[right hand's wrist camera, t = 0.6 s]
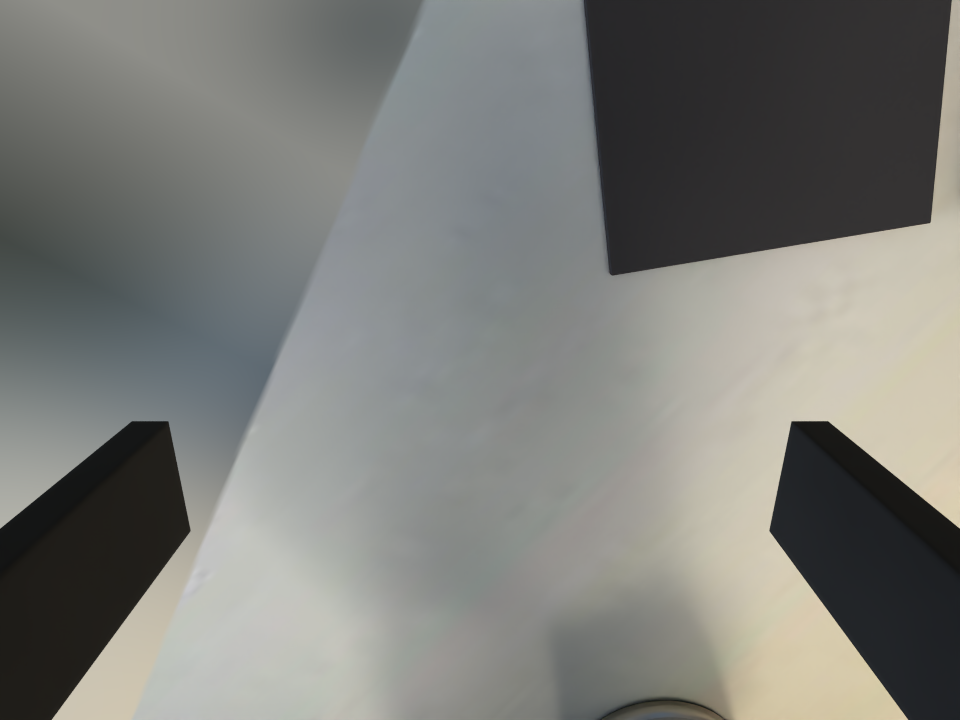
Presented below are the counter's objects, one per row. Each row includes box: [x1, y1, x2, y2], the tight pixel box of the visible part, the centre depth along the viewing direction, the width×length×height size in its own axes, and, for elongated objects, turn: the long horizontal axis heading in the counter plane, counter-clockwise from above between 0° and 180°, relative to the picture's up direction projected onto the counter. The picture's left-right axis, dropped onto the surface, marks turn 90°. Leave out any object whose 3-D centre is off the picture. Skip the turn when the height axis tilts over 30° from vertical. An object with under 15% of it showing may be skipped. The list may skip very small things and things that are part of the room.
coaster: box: [584, 0, 952, 275], centre depth 35 cm, size 20×20×1 cm
